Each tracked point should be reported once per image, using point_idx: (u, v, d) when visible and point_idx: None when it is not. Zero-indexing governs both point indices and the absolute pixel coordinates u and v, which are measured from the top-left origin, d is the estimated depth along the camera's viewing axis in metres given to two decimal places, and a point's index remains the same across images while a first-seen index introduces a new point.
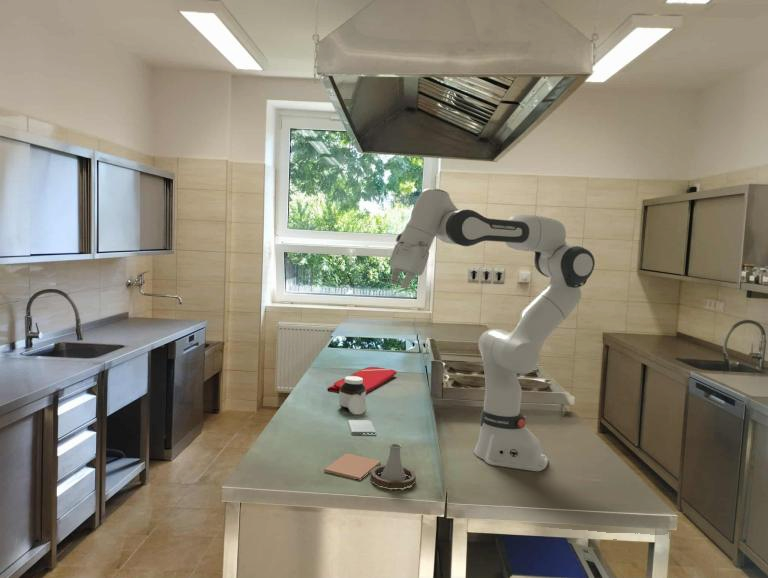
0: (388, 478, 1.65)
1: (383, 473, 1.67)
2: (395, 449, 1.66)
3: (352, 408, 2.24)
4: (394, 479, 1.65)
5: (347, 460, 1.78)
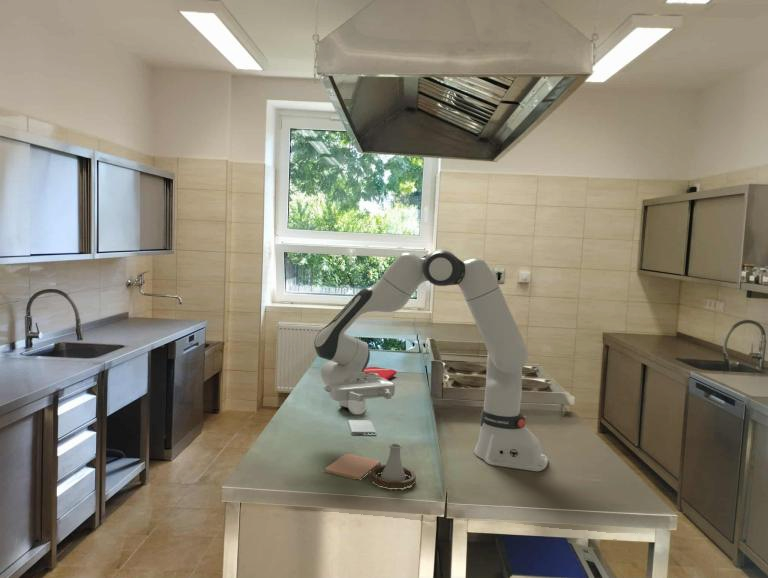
0: (388, 478, 1.65)
1: (383, 473, 1.67)
2: (395, 449, 1.66)
3: (352, 408, 2.24)
4: (394, 479, 1.65)
5: (347, 460, 1.78)
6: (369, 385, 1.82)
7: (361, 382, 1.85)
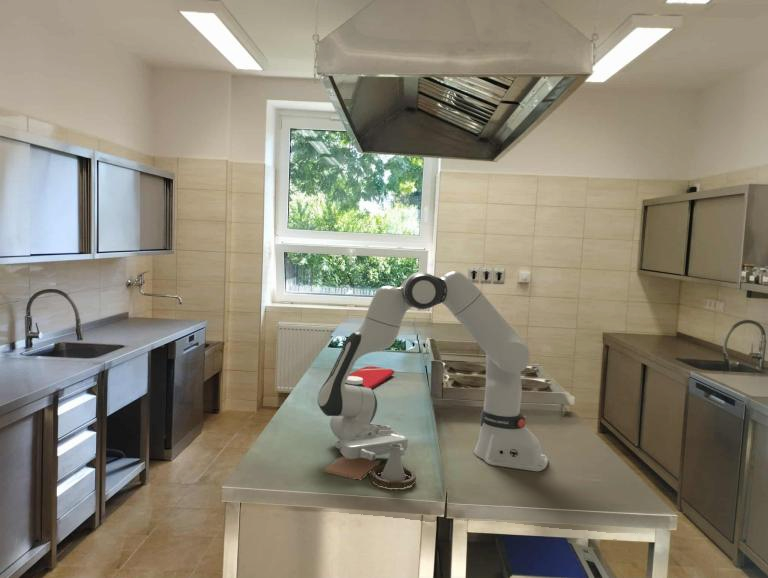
0: (388, 478, 1.65)
1: (383, 473, 1.67)
2: (395, 449, 1.66)
3: None
4: (394, 479, 1.65)
5: (347, 460, 1.78)
6: (381, 440, 1.76)
7: (373, 436, 1.79)
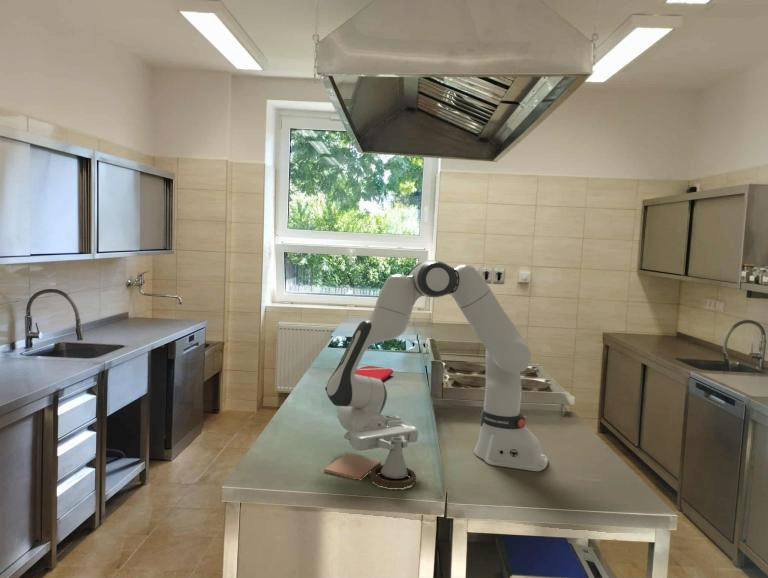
0: (388, 471, 1.65)
1: (384, 466, 1.67)
2: (396, 442, 1.66)
3: None
4: (394, 472, 1.65)
5: (347, 460, 1.78)
6: (391, 431, 1.72)
7: (382, 427, 1.75)
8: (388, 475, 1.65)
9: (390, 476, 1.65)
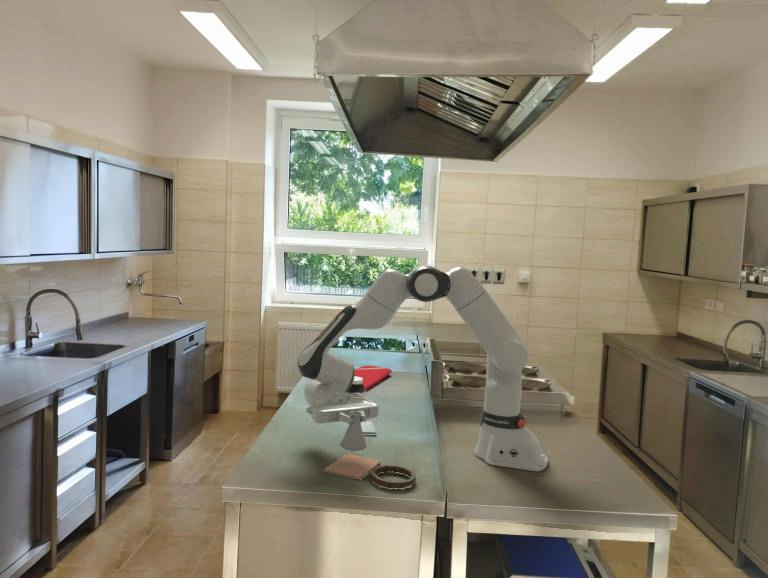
0: (347, 443, 1.72)
1: (343, 439, 1.73)
2: (355, 416, 1.72)
3: None
4: (352, 445, 1.71)
5: (347, 460, 1.78)
6: (352, 406, 1.79)
7: (344, 403, 1.82)
8: (347, 447, 1.71)
9: (349, 448, 1.71)
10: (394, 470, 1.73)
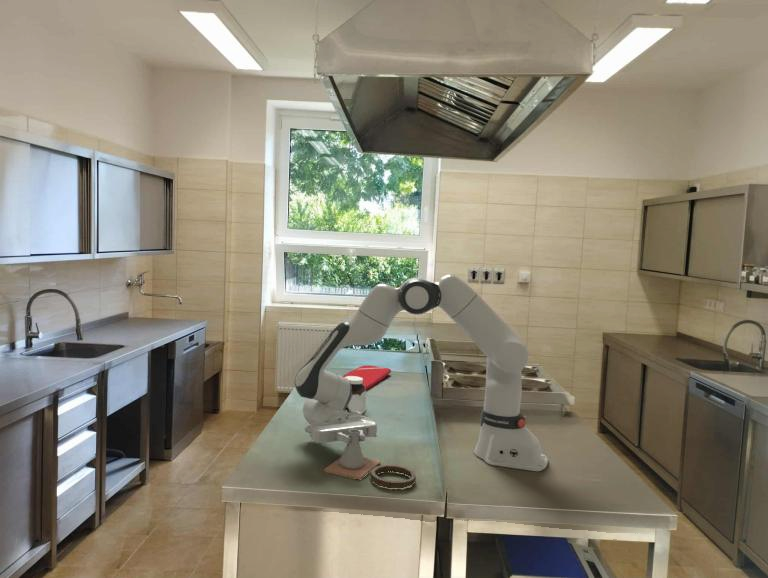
0: (346, 462, 1.72)
1: (342, 457, 1.74)
2: (353, 434, 1.73)
3: (352, 408, 2.24)
4: (351, 463, 1.72)
5: None
6: (350, 425, 1.79)
7: (343, 422, 1.82)
8: (345, 466, 1.72)
9: (347, 466, 1.72)
10: (394, 470, 1.73)
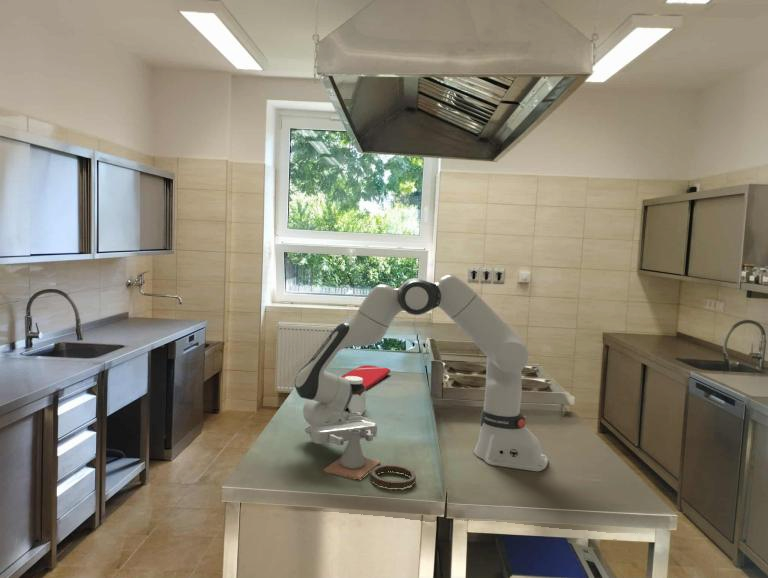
0: (346, 461, 1.72)
1: (342, 457, 1.74)
2: (353, 434, 1.73)
3: (352, 408, 2.24)
4: (351, 463, 1.72)
5: None
6: (350, 426, 1.79)
7: (343, 423, 1.82)
8: (346, 465, 1.72)
9: (348, 466, 1.72)
10: (394, 470, 1.73)
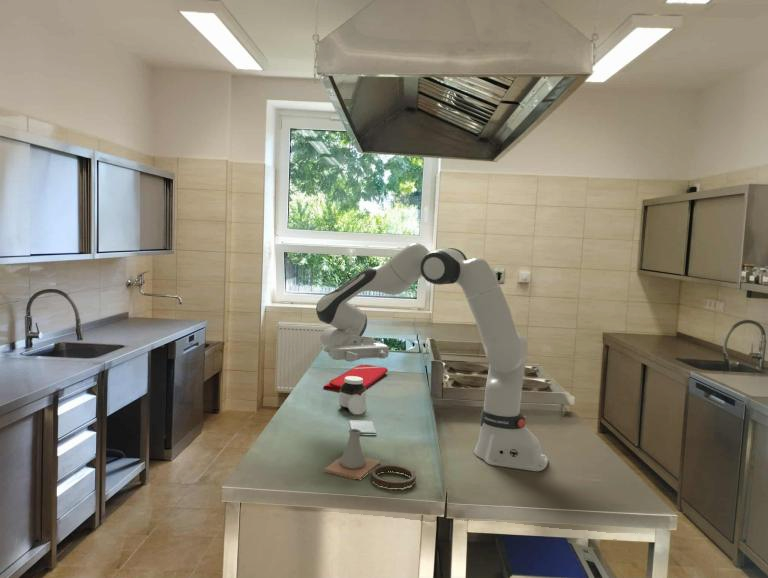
0: (346, 461, 1.72)
1: (342, 457, 1.74)
2: (353, 434, 1.73)
3: (352, 408, 2.24)
4: (351, 463, 1.72)
5: None
6: (365, 346, 1.98)
7: (358, 344, 2.01)
8: (346, 465, 1.72)
9: (348, 466, 1.72)
10: (394, 470, 1.73)
